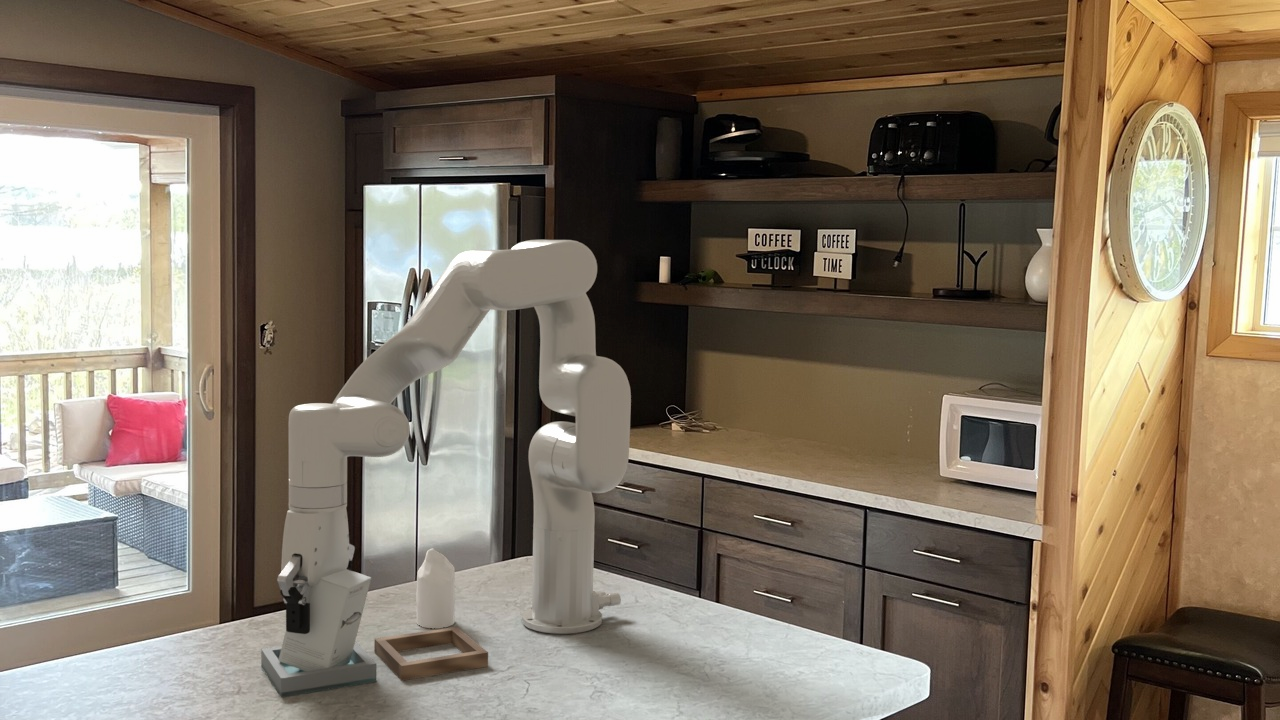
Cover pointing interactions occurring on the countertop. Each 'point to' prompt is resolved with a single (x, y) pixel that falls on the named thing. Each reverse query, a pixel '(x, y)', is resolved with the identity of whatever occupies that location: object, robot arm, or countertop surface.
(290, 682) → the dock
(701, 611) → the countertop surface
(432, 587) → the white rounded piece
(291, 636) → the supplement box
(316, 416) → the robot arm
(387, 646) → the wooden picture frame
